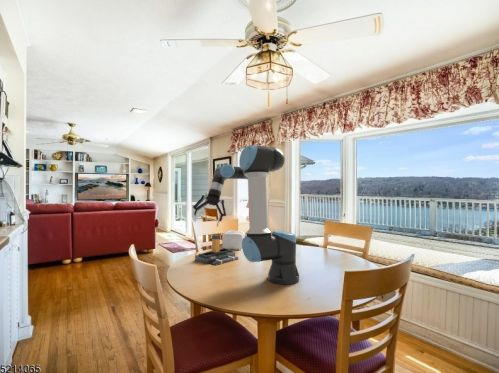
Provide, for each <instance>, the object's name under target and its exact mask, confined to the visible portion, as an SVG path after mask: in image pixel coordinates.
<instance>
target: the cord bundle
mask: <svg viewBox="0 0 499 373" xmlns="http://www.w3.org/2000/svg"><path fill="white" fill-rule="evenodd" d="M238 259H239V256H236V255H235V256H232V257H231V256H228V258H224V259H220V260H218V259H216V261H213V262H211V264H210V265H214V266H217V265H218V266H219V265H223V264H224V263H228V262H233V261H236V260H238Z"/></svg>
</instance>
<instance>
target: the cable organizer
mask: <svg viewBox="0 0 499 373" xmlns="http://www.w3.org/2000/svg"><path fill="white" fill-rule="evenodd" d="M244 237H246V234H245V232H244V231H241V230H227V231H226V232H224V233H222V239H221V242H222V244H221V245H222V249H223V248H225V249H230V250H234V249H235V251H239V250H243V249H242V241H243V238H244Z"/></svg>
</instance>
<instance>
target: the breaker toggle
mask: <svg viewBox="0 0 499 373" xmlns="http://www.w3.org/2000/svg"><path fill="white" fill-rule="evenodd" d="M220 241H221V235H220V234H212V235H211V254H215V253H220V252H221V251H220V249H221V246H220Z"/></svg>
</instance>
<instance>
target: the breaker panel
mask: <svg viewBox="0 0 499 373" xmlns="http://www.w3.org/2000/svg"><path fill="white" fill-rule="evenodd" d="M211 251H212V250H211ZM211 251H206V252H202V253H198V254H195V257H194V258H195V262H199V263H202V264H205V265H212V264H211V262H213V261H216V259H218V260H220V259H224V258H228V256H231V257H232V256H236V252H235V251H233V249H225V248H223V247H222V248H220V251H221V252H220V253H215V254H211Z"/></svg>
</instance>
